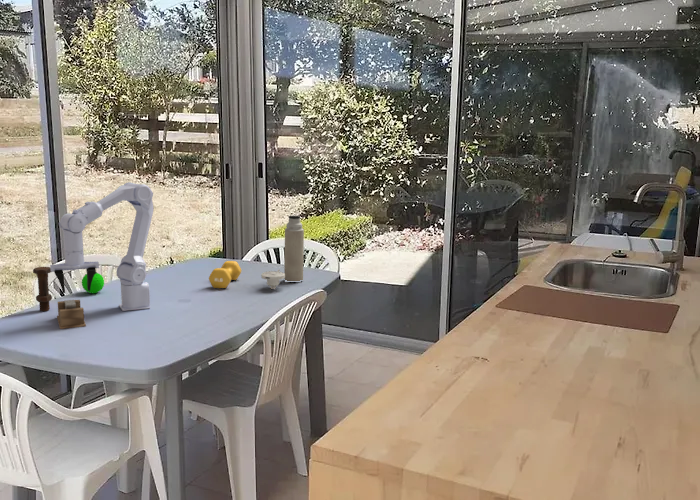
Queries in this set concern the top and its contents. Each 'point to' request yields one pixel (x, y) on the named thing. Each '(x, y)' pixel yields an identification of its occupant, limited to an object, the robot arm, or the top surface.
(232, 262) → the dumbbell
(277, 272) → the showerhead
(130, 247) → the robot arm
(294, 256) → the thermos bottle
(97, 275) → the ornament
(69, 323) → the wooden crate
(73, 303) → the grey concrete block
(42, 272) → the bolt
